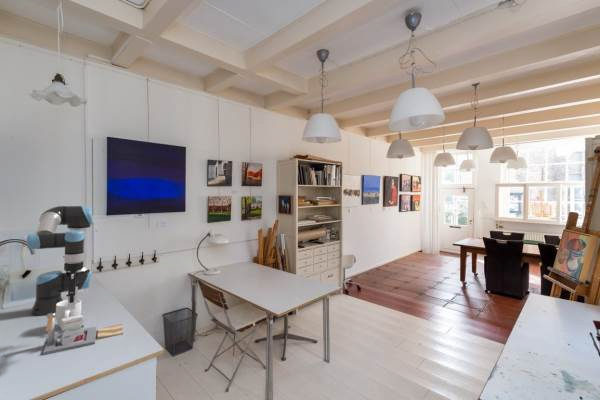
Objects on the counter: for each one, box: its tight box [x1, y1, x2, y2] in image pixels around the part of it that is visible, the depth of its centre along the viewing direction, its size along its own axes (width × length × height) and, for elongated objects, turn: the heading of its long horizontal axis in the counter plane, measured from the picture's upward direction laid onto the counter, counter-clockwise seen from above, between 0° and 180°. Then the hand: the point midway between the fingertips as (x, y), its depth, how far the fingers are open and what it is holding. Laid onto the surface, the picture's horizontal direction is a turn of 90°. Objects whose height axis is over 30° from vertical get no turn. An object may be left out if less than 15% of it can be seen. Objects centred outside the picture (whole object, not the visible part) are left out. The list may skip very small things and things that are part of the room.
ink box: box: [59, 313, 85, 346], centre depth 142 cm, size 9×5×12 cm, turn 140°
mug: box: [55, 298, 82, 327], centre depth 155 cm, size 15×11×13 cm
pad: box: [97, 324, 124, 340], centre depth 152 cm, size 11×11×1 cm
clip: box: [45, 312, 56, 332], centre depth 131 cm, size 3×19×1 cm, turn 37°
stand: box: [42, 316, 97, 356], centre depth 142 cm, size 18×19×14 cm
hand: (72, 304), depth 141 cm, fingers open, 13 cm apart
